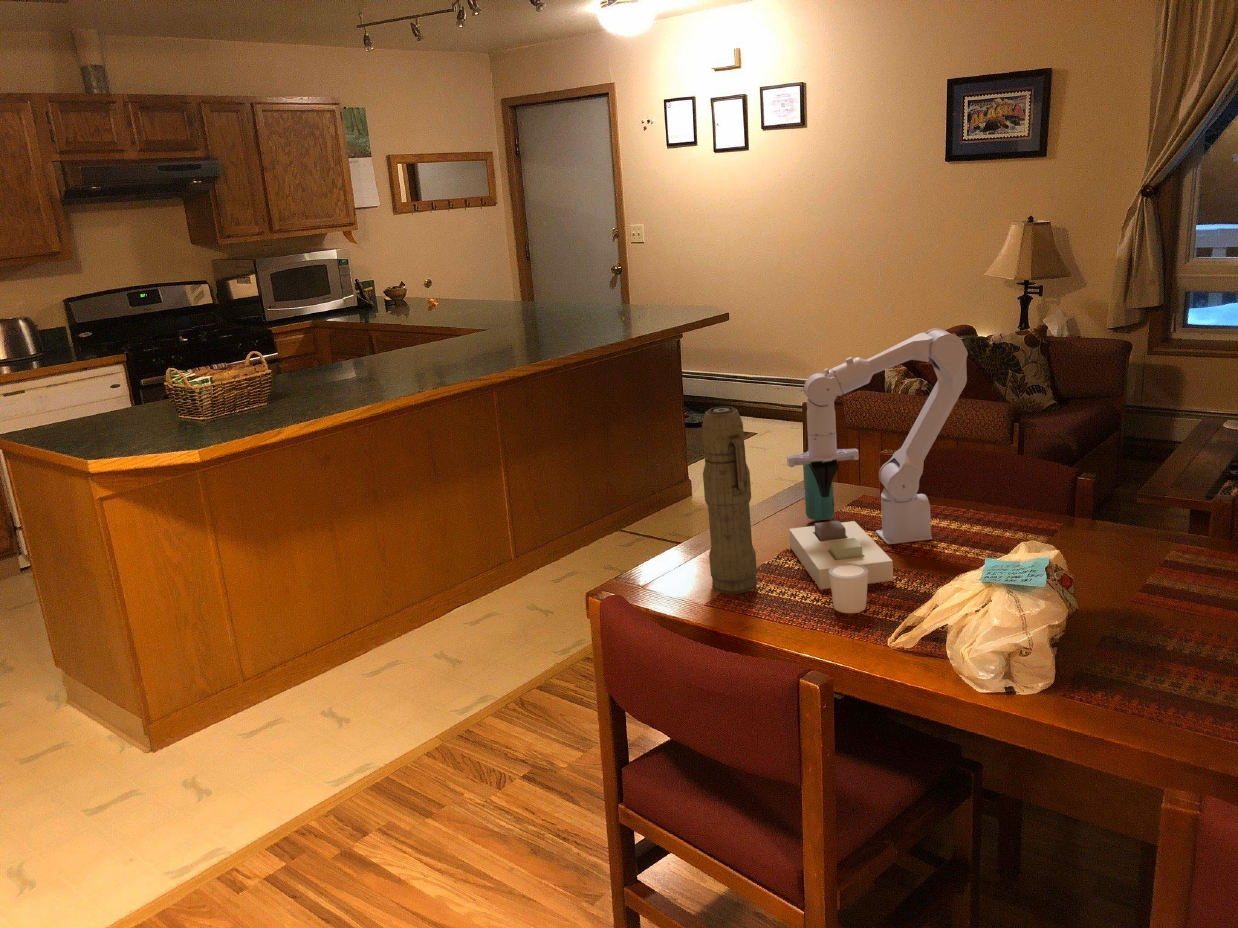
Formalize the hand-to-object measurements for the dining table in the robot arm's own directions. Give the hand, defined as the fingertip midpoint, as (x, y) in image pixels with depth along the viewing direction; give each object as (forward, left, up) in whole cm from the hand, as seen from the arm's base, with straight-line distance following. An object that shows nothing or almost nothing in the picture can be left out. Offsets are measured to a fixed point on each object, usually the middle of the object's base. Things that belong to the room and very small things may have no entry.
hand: (824, 495), depth 204 cm
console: (+1, +12, -10) cm, 16 cm away
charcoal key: (+1, +6, -7) cm, 10 cm away
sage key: (+1, +17, -7) cm, 19 cm away
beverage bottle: (-2, -13, -11) cm, 17 cm away
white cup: (+5, +33, -11) cm, 35 cm away
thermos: (+23, +17, -11) cm, 30 cm away
